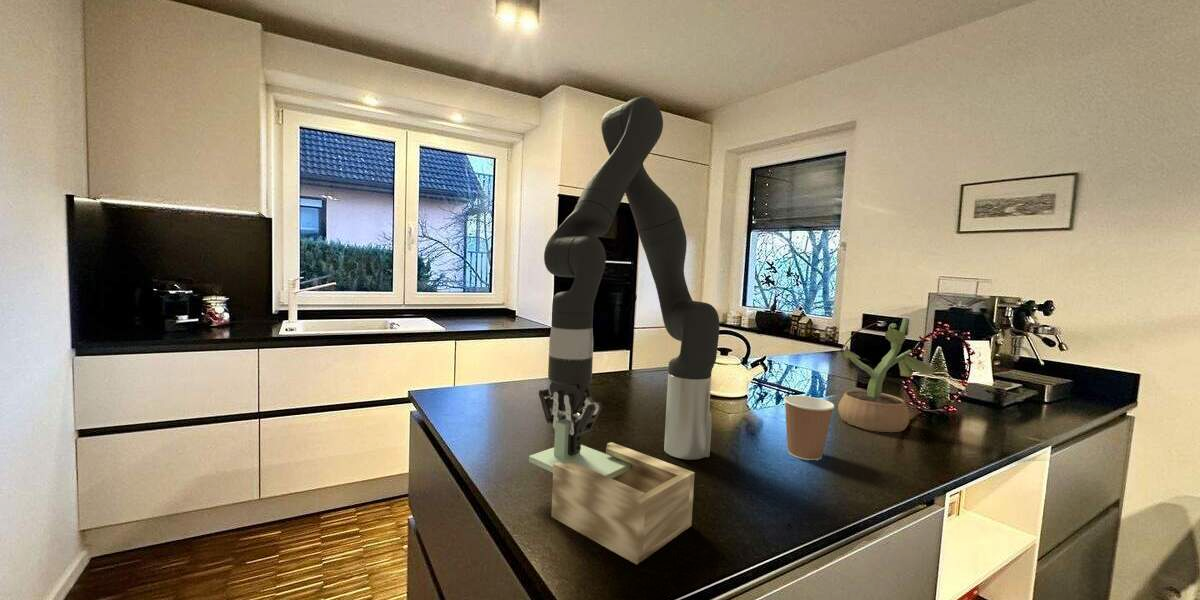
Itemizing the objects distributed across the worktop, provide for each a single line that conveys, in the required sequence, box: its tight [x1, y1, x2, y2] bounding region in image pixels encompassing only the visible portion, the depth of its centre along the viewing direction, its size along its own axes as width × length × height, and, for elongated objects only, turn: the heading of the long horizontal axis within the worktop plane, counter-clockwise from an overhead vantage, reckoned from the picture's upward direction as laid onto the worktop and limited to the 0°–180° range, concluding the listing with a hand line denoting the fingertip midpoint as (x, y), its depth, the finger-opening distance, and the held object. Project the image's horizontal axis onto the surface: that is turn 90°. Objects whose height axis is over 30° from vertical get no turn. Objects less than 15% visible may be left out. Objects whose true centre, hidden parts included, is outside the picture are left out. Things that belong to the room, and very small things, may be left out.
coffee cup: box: [783, 395, 835, 461], centre depth 106 cm, size 10×10×12 cm
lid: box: [528, 419, 631, 479], centre depth 81 cm, size 14×10×7 cm
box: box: [550, 442, 696, 565], centre depth 75 cm, size 17×14×9 cm
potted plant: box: [837, 318, 936, 433], centre depth 127 cm, size 22×18×30 cm
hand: (567, 451), depth 83 cm, fingers closed on lid, 2 cm apart
